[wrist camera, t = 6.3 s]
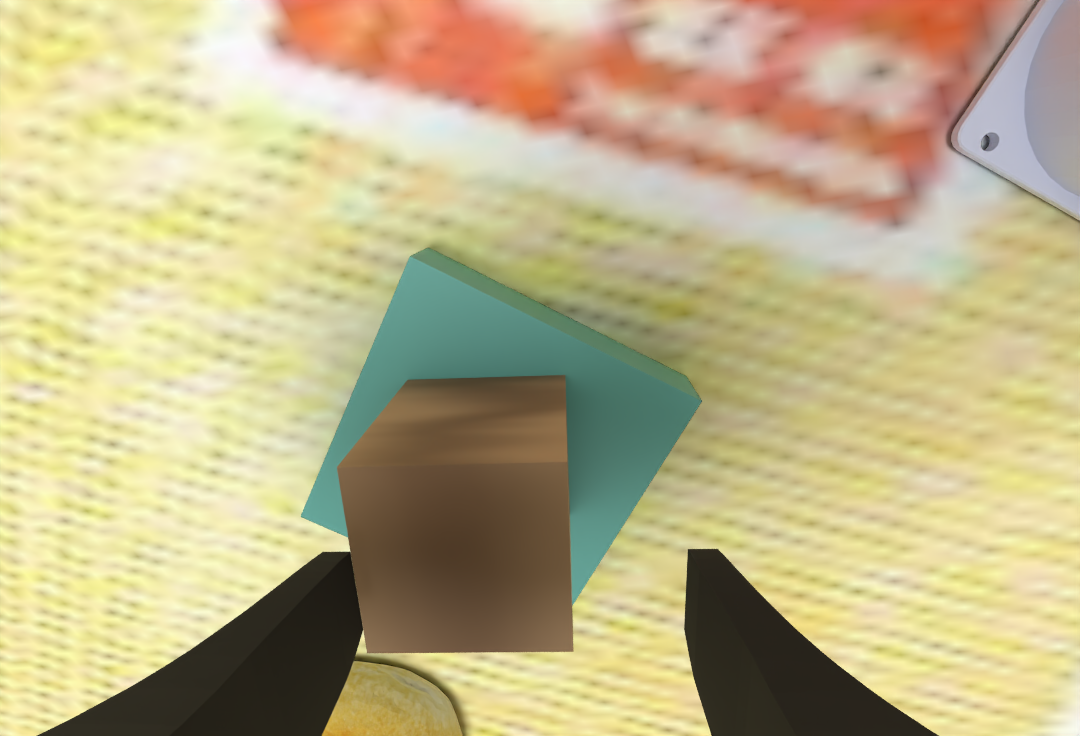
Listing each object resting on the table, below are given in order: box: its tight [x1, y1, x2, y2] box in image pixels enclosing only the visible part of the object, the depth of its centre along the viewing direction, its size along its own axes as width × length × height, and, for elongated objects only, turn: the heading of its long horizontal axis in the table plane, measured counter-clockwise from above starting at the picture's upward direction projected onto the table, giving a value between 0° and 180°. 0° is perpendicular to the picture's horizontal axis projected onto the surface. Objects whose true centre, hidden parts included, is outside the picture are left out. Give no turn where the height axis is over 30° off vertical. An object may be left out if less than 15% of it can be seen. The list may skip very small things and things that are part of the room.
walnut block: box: [337, 375, 573, 653], centre depth 16 cm, size 5×5×6 cm
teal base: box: [301, 248, 702, 605], centre depth 20 cm, size 10×10×3 cm
